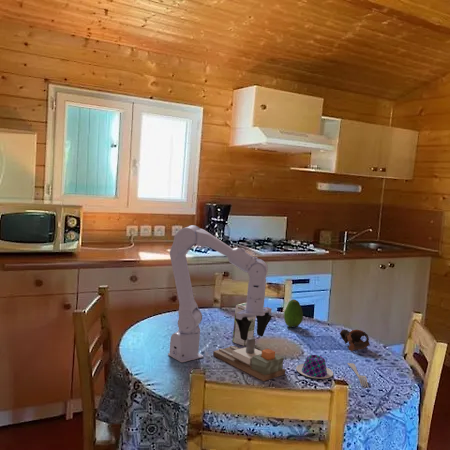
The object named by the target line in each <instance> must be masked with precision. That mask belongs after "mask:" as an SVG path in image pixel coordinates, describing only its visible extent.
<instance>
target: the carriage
mask: <svg viewBox="0 0 450 450" xmlns="http://www.w3.org/2000/svg"><path fill="white" fill-rule="evenodd" d="M245 346H246V347H245ZM245 346H244V347H242V348H240V349H237V350H233V357H235V358H237V359H239V360H241V361H243V362H245V363H247V364H249V365H250V364H252V357H253V356H256V355H259V354H262V350H259V349H257V348H256V338H255V337H253V338H252V337H248V338H247V344H246V345H245Z"/></svg>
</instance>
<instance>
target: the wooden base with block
mask: <svg viewBox="0 0 450 450" xmlns="http://www.w3.org/2000/svg"><path fill="white" fill-rule="evenodd" d="M237 349H241V348H240V347H238V346H236V345H230V346H229V347H224V348H218V349H217V350H213V352H212V356H214V357H216V358H217V359H220V360H222V361H224V363H227V364H229V365H231V366H233V367H235V368H237V369H239V370H240V371H243V372H245V373H247V374H249V375H250V376H253V377H254V378H256V379H258V380H260V381H261V382H262V381H263V382H267V381H269V380H271V379H274V378H278V377H281V376H283V375H286V368H283V367H284V357H283V356H281V355H278V354H276V353H275V359H271V360H267V359H264V358H262V357H261V355H262V354H259V355H256V356H253V357H252V364H250V365H249V364H247V363H245V362H243V361H241V360H239V359H237V358H235V357H233V350H237Z"/></svg>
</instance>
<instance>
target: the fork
mask: <svg viewBox="0 0 450 450" xmlns="http://www.w3.org/2000/svg"><path fill="white" fill-rule="evenodd" d="M346 364H347V365H348V367H350V368H351V369H352V371H353V372H354V373H355V376H356V377H358V380H359V383H360V386H362V387H363V386H364V388H365V387H366V388H367V387H368V388H369V386H368V384H369V383H368V379H367V376H365V375H360V374H359V372H358V369H357V366H356V364H355V363H353V362H352V363H351V362H347V363H346Z"/></svg>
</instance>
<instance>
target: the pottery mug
mask: <svg viewBox="0 0 450 450" xmlns="http://www.w3.org/2000/svg"><path fill="white" fill-rule="evenodd" d="M339 334H340V335H339V336H340V337H341V340H343V342H344V344H347V343H348V344H349V346H348V351H349V352H354V351H358V350H364V349H366V348H368V346H370V345H371V344H370V341H369V340H370V338H369V335H368V334H367V332H365V331H364V330H362V329H352V330H350V331H349V330H348V329H342V330H340V332H339ZM362 337H365V338H366V340H365V341H364V340H363V339H362Z"/></svg>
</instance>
